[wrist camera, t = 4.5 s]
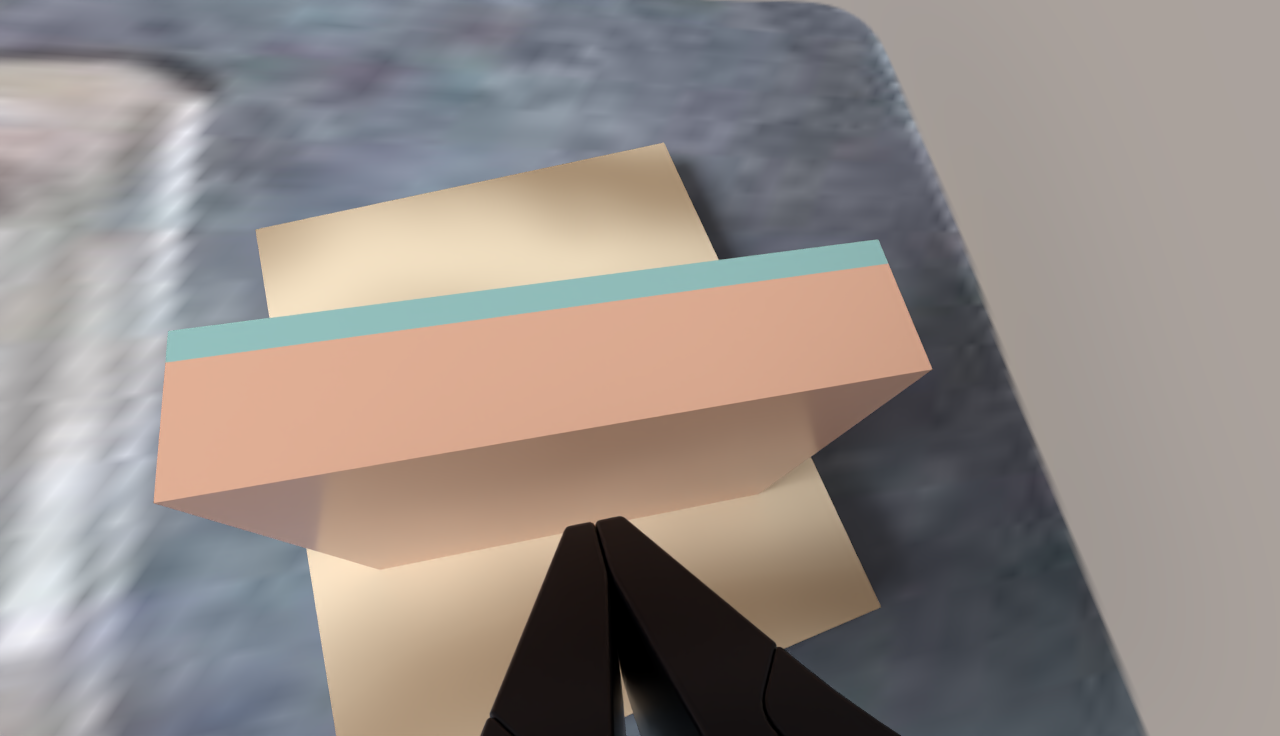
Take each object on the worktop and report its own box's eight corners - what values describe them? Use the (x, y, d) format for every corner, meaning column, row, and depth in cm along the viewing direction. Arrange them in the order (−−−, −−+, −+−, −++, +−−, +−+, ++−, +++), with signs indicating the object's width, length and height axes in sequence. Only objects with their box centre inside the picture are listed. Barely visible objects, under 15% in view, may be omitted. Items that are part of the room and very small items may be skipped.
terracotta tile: (759, 494, 15) (932, 368, 8) (379, 570, 14) (153, 502, 6) (737, 418, 16) (878, 239, 9) (375, 482, 14) (168, 331, 7)
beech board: (859, 608, 15) (881, 606, 14) (370, 816, 13) (352, 833, 12) (658, 169, 20) (664, 142, 19) (275, 254, 18) (255, 229, 17)
